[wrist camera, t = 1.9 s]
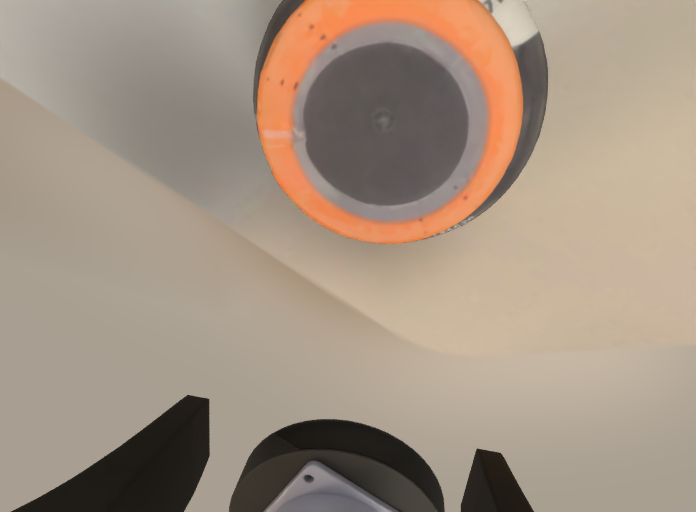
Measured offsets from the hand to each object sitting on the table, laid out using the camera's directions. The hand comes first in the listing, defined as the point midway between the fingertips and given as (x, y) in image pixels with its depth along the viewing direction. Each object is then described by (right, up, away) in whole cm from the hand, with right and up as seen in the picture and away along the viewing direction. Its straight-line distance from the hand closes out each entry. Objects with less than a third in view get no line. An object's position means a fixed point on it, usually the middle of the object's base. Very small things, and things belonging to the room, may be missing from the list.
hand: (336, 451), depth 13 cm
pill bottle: (+2, +11, +5) cm, 13 cm away
